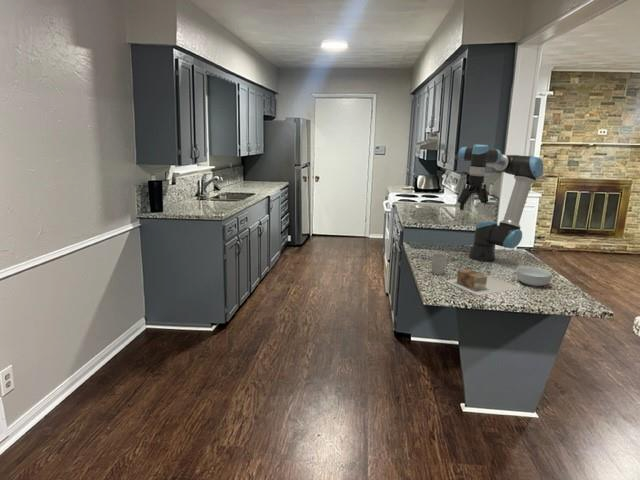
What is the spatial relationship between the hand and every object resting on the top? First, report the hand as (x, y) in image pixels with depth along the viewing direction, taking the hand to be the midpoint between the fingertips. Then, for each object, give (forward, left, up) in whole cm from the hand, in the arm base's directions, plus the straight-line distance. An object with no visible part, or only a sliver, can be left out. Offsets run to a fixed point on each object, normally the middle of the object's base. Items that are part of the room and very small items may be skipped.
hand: (471, 215), depth 236 cm
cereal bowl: (-21, +27, -32) cm, 47 cm away
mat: (+6, +18, -32) cm, 37 cm away
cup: (+15, -4, -32) cm, 35 cm away
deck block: (+14, +18, -31) cm, 39 cm away
